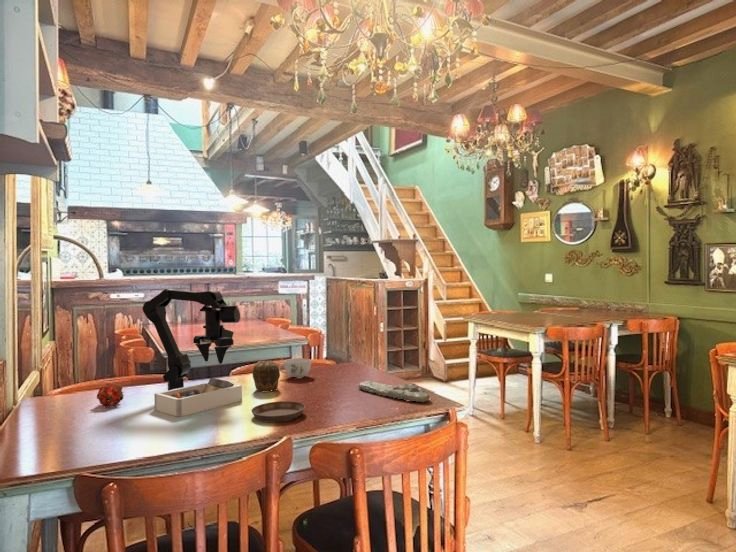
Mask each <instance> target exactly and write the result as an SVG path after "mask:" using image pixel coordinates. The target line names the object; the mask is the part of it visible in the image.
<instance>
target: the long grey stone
mask: <svg viewBox="0 0 736 552" xmlns="http://www.w3.org/2000/svg"><path fill="white" fill-rule="evenodd" d="M359 389H362V390H361V391H363V390H364V392H367V391H368V392H367V393H370V392H371V393H370V394H372V393H376V394H375V395H377V394H380V395H383V396H382V397H385V396H389V397H388V398H392V397H393V398H392V399H394V398H399V399H405V400H410V402H412V401H416V402H415V403H425V402H428V401H429V400H430V395H429V392H427V391H426V390H425V389H423V388H421V387H418V386H417V385H416V384H415V383H408V384H407V383H404V384H399V385H391V384H385V383H380V382H376V381H370V380H366V381H360V382H359V383H358V390H359ZM380 395H379V396H380Z"/></svg>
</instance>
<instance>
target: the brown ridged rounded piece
mask: <svg viewBox="0 0 736 552" xmlns="http://www.w3.org/2000/svg"><path fill="white" fill-rule="evenodd" d="M280 376H281V372H280V370H279V365H278V364H277V363H276V362H274V361H272V360H267V361H266V360H259V361H257V362H256V363H255V364H254V366H253V369H252V378H253V383H254V386H255V390H256V391H258V392H260V391H271V390H275V391H277V390H276V389H278V387H279V386H278V385H279V379H280ZM271 392H272V391H271Z"/></svg>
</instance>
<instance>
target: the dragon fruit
mask: <svg viewBox="0 0 736 552" xmlns="http://www.w3.org/2000/svg"><path fill="white" fill-rule="evenodd" d="M122 390H123V387H122V386H121V385H118V384H117V383H109V382H108V383H106V384H105V385H104V386H102V387H100V388H99V389H98V392H97V394H96V399H97V400H98V401H99V403H100V405H102V406H103V408H109V407H111V406H113V405H114V404H117V405H119V403H120V402H121V401H123V400H124V397H125V394H124V392H123V391H122ZM108 406H109V407H108Z"/></svg>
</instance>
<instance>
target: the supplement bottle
mask: <svg viewBox="0 0 736 552" xmlns="http://www.w3.org/2000/svg"><path fill="white" fill-rule="evenodd" d="M197 394H200V392H199V390H197V389H194V390H189V391H183V392H177V393H174V394H172V396H171V397H175V398H179V399H180V398H184V397H189V396H193V395H197Z"/></svg>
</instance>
